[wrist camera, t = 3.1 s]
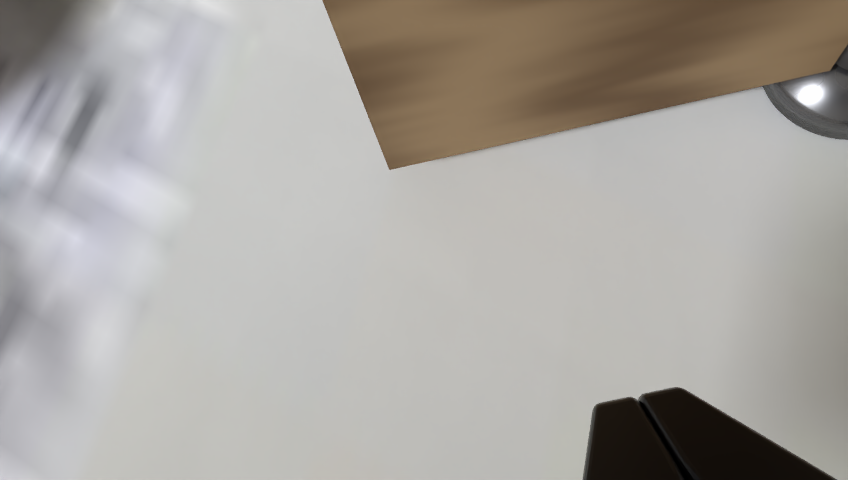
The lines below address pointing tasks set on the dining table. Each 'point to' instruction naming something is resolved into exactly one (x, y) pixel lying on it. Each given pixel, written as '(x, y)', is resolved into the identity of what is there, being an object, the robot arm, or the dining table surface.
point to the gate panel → (564, 62)
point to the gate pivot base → (815, 102)
